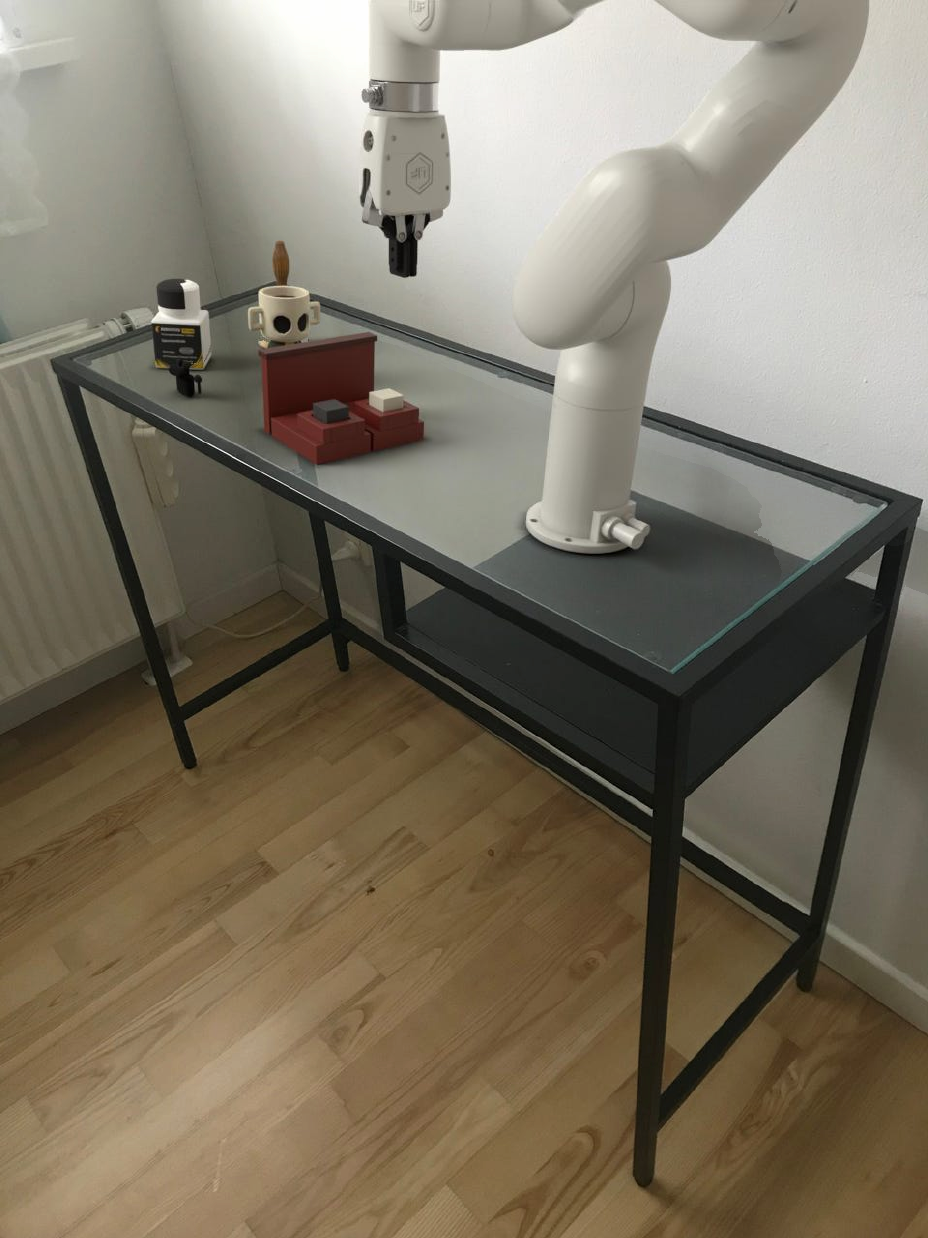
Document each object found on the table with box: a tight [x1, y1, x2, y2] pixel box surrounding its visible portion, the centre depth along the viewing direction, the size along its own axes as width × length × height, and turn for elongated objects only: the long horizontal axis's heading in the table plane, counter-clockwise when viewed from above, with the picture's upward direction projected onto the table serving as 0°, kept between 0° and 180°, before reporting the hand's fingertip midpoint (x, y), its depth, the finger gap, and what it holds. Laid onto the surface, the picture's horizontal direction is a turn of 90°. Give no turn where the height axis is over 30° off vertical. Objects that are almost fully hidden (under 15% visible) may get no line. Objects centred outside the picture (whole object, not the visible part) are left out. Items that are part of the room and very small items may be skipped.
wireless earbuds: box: [168, 358, 203, 398], centre depth 144 cm, size 7×2×5 cm, turn 49°
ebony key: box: [313, 399, 349, 425], centre depth 129 cm, size 3×3×2 cm
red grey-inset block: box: [271, 410, 372, 466], centre depth 132 cm, size 11×8×4 cm
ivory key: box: [369, 387, 405, 412], centre depth 134 cm, size 3×3×2 cm
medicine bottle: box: [150, 278, 212, 371], centre depth 155 cm, size 7×7×12 cm
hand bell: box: [258, 240, 290, 349], centre depth 164 cm, size 8×8×16 cm
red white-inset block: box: [343, 398, 425, 452], centre depth 137 cm, size 11×8×4 cm
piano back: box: [257, 331, 378, 435], centre depth 137 cm, size 2×17×11 cm, turn 129°
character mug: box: [247, 285, 321, 348], centre depth 150 cm, size 11×7×13 cm, turn 121°
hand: (402, 274), depth 122 cm, fingers closed
